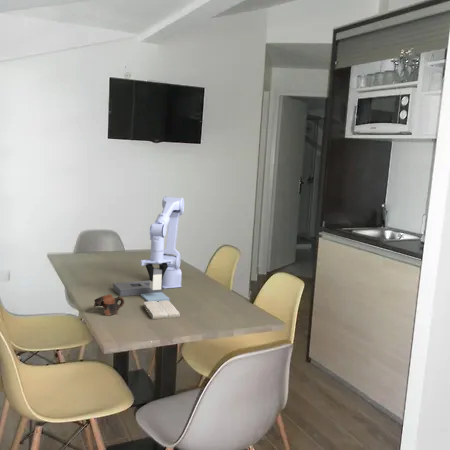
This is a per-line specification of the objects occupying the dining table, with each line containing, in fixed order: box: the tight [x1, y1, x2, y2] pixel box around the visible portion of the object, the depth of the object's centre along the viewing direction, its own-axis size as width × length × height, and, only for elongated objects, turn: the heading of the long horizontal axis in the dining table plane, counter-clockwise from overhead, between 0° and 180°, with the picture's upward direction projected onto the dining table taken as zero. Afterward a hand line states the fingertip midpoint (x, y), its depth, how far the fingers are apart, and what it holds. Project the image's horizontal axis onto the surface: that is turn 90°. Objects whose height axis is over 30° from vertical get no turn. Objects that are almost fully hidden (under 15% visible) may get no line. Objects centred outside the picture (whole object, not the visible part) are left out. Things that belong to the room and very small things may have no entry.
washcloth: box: [143, 300, 181, 320], centre depth 205 cm, size 12×18×3 cm, turn 23°
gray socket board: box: [112, 279, 164, 297], centre depth 232 cm, size 20×12×3 cm, turn 118°
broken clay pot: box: [93, 294, 125, 316], centre depth 201 cm, size 12×10×8 cm
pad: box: [140, 291, 171, 302], centre depth 222 cm, size 10×10×1 cm
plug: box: [150, 267, 162, 290], centre depth 221 cm, size 4×4×9 cm
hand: (155, 280), depth 221 cm, fingers closed on plug, 4 cm apart
